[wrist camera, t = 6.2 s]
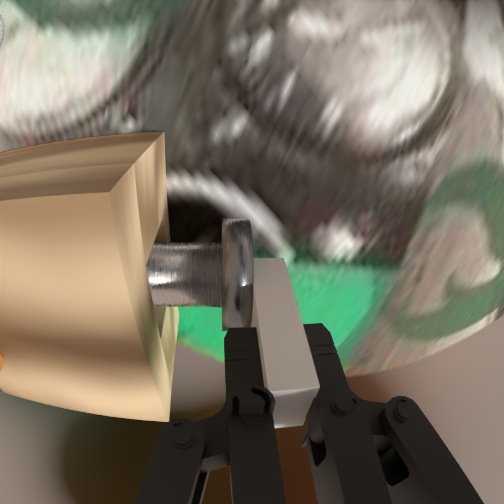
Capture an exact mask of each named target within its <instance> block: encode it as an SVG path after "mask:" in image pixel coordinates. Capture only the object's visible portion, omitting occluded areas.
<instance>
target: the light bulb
mask: <svg viewBox="0 0 504 504" xmlns="http://www.w3.org/2000/svg"><path fill="white" fill-rule="evenodd" d="M3 35H4V22H3V19H2V17H1V16H0V44H1V42H2V39H3Z"/></svg>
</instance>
